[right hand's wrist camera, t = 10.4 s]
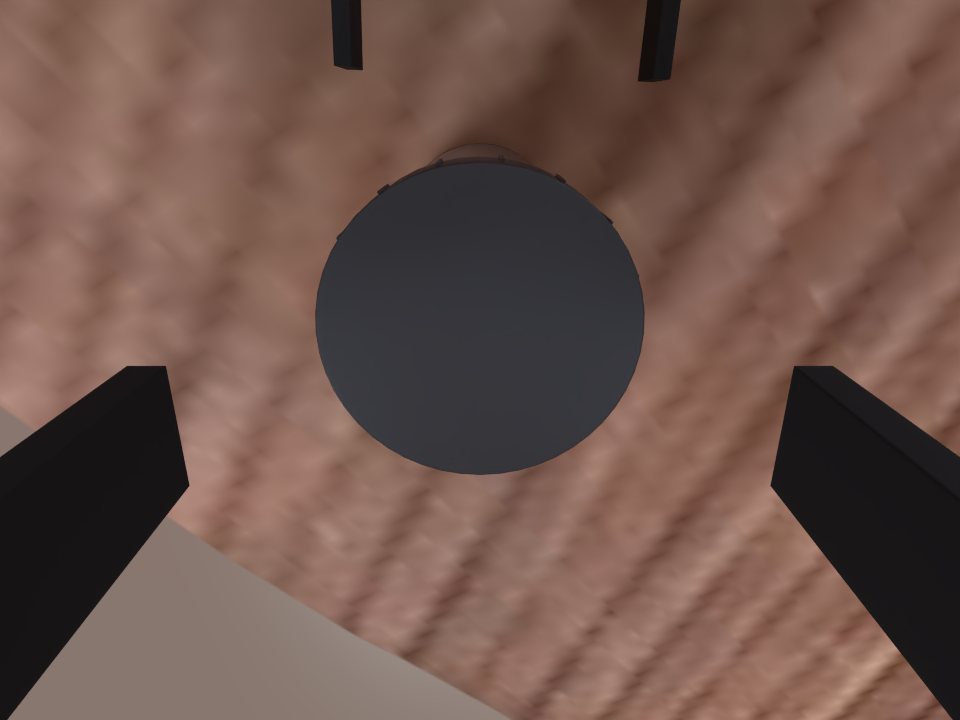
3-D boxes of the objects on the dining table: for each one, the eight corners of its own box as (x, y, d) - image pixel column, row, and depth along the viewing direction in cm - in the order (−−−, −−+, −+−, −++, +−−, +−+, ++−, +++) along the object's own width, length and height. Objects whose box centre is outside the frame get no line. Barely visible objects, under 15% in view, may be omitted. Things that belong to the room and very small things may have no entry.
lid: (336, 132, 18) (318, 134, 16) (661, 176, 18) (683, 184, 16) (324, 425, 21) (307, 457, 19) (597, 456, 22) (609, 490, 20)
